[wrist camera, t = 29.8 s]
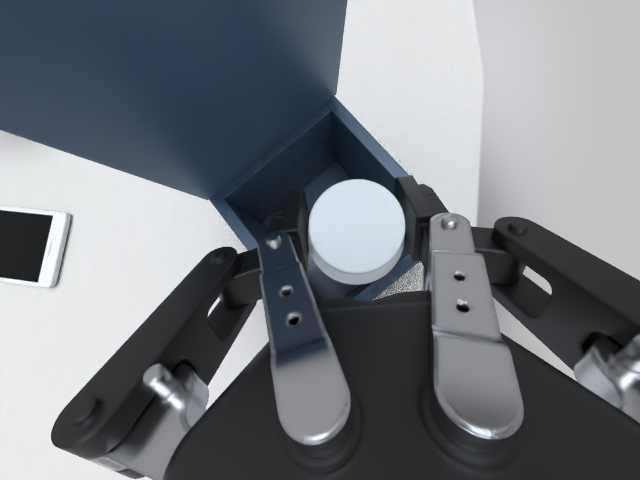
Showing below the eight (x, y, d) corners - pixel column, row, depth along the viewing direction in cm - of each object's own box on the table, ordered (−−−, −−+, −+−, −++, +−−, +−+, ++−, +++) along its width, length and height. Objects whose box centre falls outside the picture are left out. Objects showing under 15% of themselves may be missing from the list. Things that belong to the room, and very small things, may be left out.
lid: (388, -339, 4) (174, -604, 4) (-124, 89, 4) (-343, -172, 4) (336, 94, 17) (283, 29, 17) (207, 200, 17) (154, 135, 17)
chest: (418, 244, 24) (459, 228, 15) (329, 318, 24) (319, 344, 15) (337, 154, 26) (333, 94, 17) (254, 222, 26) (207, 197, 17)
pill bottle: (333, 291, 17) (320, 307, 9) (309, 228, 17) (278, 192, 10) (399, 266, 16) (442, 260, 9) (372, 203, 17) (390, 146, 9)
